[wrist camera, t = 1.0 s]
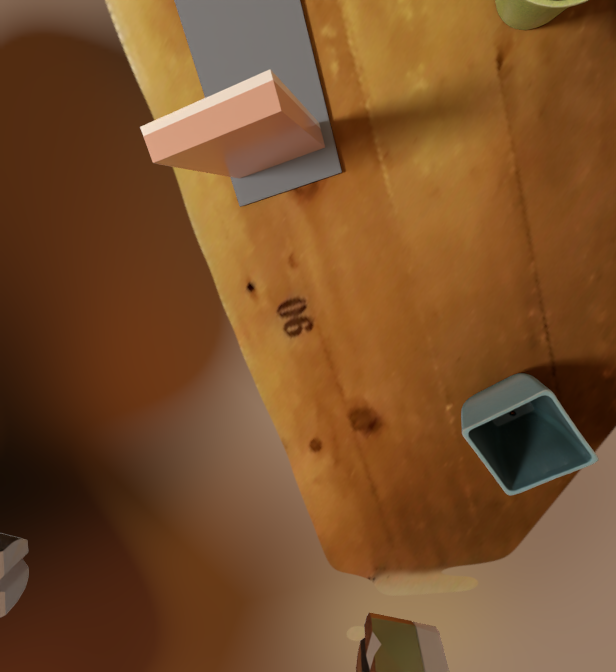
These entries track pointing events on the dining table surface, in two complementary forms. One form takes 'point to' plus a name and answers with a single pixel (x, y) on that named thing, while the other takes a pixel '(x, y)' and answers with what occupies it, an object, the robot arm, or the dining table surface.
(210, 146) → the tile
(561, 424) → the flower pot
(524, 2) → the plant pot
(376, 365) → the dining table surface
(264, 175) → the mat
